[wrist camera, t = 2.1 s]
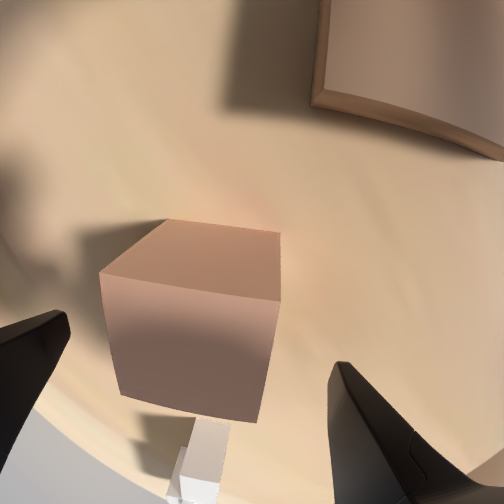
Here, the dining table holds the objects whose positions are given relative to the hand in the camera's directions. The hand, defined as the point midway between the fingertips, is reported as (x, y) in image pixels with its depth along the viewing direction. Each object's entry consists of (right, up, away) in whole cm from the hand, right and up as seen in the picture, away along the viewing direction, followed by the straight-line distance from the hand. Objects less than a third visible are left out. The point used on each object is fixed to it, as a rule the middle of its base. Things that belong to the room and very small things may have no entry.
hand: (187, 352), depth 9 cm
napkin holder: (-1, -13, +12) cm, 17 cm away
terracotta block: (0, +2, +5) cm, 6 cm away
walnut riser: (+10, +13, 0) cm, 16 cm away
